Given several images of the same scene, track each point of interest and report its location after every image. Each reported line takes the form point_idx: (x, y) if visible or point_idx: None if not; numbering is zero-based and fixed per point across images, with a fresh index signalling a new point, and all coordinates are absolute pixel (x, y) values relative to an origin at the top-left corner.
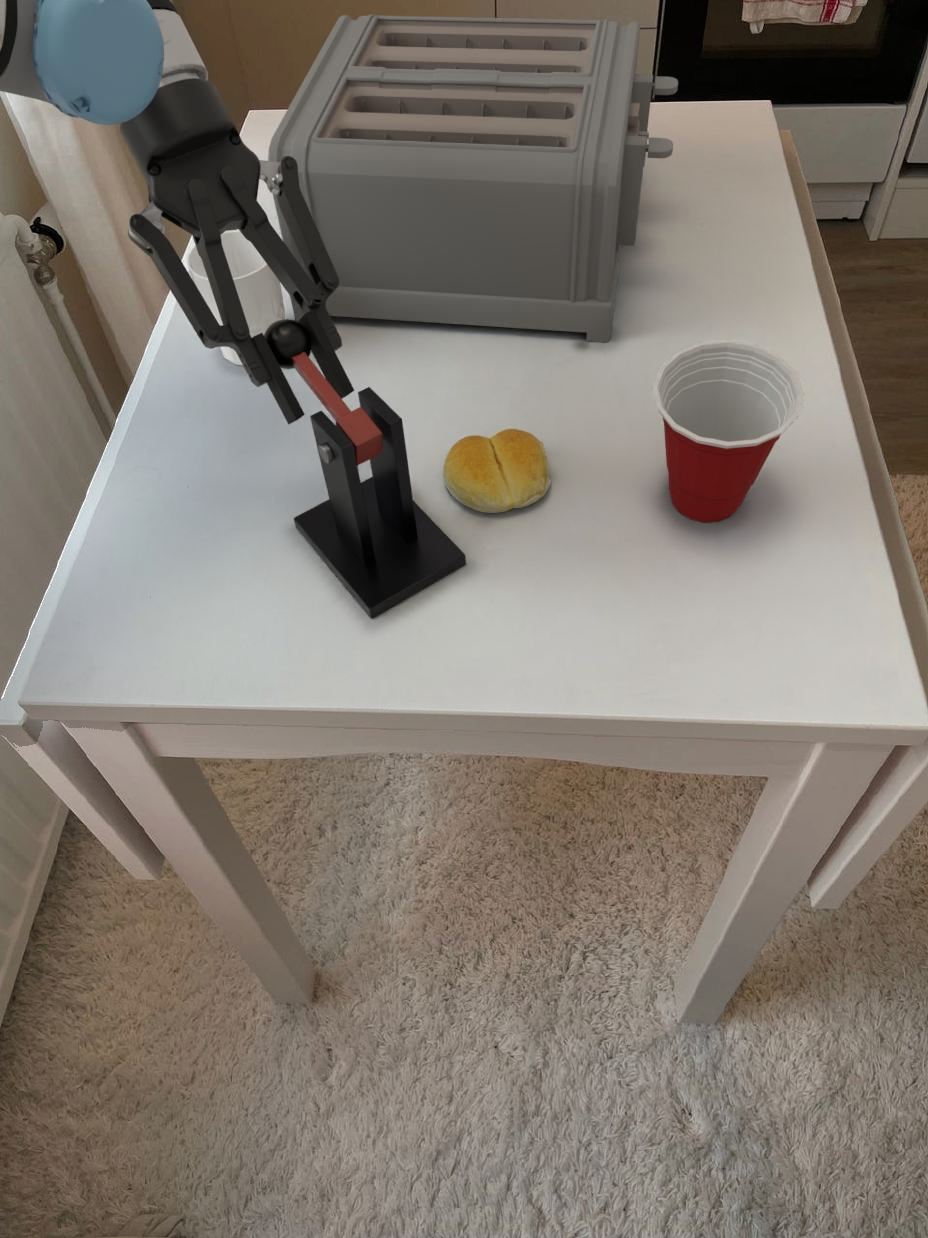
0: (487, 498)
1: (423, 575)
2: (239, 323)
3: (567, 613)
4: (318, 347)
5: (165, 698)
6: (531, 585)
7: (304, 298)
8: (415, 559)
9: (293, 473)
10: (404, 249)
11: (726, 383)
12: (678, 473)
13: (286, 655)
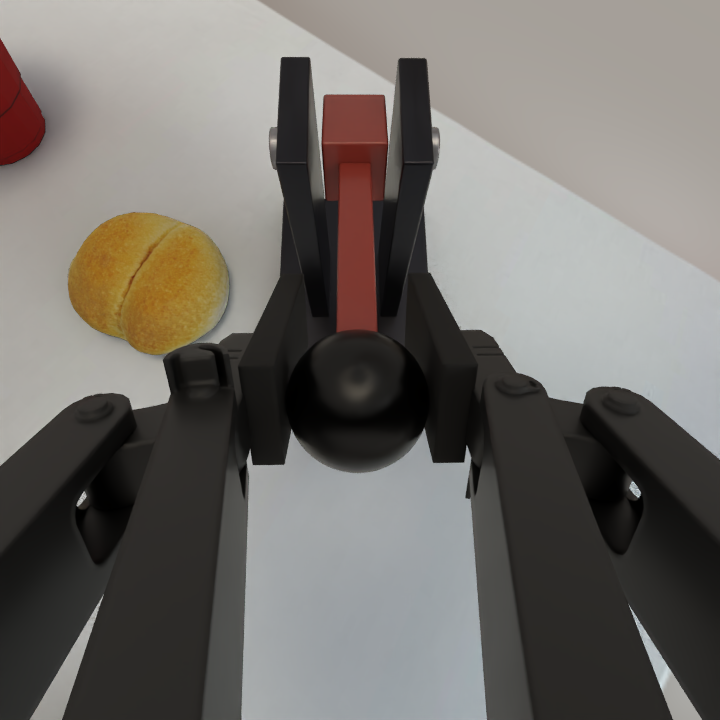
0: (204, 234)
1: None
2: (514, 403)
3: (244, 107)
4: (291, 345)
5: (666, 251)
6: (248, 150)
7: (234, 409)
8: (336, 226)
9: (383, 484)
10: None
11: None
12: (3, 63)
13: (525, 224)
